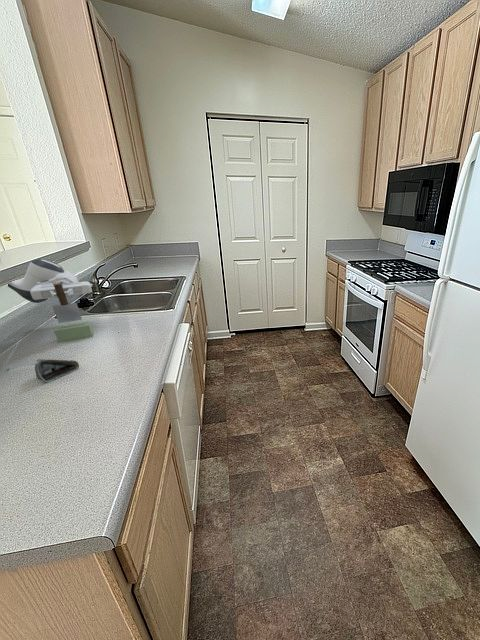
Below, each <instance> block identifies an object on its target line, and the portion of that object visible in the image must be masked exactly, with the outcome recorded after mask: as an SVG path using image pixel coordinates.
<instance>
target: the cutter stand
mask: <svg viewBox="0 0 480 640" xmlns="http://www.w3.org/2000/svg"><path fill="white" fill-rule="evenodd" d="M53 332H54V335H55V337H56V340H57V343H64V342H70V341H76V340H82V339H88V338H93V337H94V330H93V328H92V324H91V322H90V321H83V322H78V323H72V324H63V325H58V326H55V327H54V330H53Z"/></svg>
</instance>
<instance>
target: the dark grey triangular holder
mask: <svg viewBox="0 0 480 640" xmlns="http://www.w3.org/2000/svg"><path fill="white" fill-rule="evenodd" d="M79 368H80V363H79V362H78V361H77V360H73V359H71V360H66V359H50V358H49V359H44V358H42V359H41V358H39V359H36V363H34V371H35V377H36V378H37V379H40V380H41V381H43V382H44V383H49V382H53V381H54V380H57V379H59V378H62V377H64V376H66V375H67V374H70V373H73V372H75V371H77V370H78V369H79Z"/></svg>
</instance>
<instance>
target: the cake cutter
mask: <svg viewBox="0 0 480 640" xmlns="http://www.w3.org/2000/svg"><path fill="white" fill-rule="evenodd" d="M54 288H55V291H56V293H57V296H58V298H57V299H58V302H59V304H58V305H52V309H53V311H54V314H55V317H56V319H57V322H58V324H63V323H70V322H76V321H77V322H78V321H82V320H83V318H82V314H81V312H80V309H79V306H78V303H77V302H71V303H69V301H68V298H66V296H65V294H64V289H63V286H62V284H61V283H58V284H54Z"/></svg>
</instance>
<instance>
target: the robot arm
mask: <svg viewBox="0 0 480 640" xmlns="http://www.w3.org/2000/svg"><path fill="white" fill-rule="evenodd" d="M0 263H1V264H2V259H1V258H0ZM17 279H18V280H15V281H12V282H11V283H9V284H8V286H7V287H8V288H9V289H11V290H12V291H14V292H15V293H17V295H19V296H20V297H21V298H23V299H24V300H26V301H27V302H31V303H35V304H39V303H44V302H46V301H48V300H49V299H58V296H57V293H56V291H55V288H54V284H58V283H61V284H62V286H63V289H64V294H65V296H66V298H67V299H70V298H73V297H74V296H77V295H85V294H91V293H93V289H92V287H93V283H90V282H89V281H79V279H78V277H77V276H76V275H75V274H74V273H73V272H71V271H69V270H65V269H64V268H63V267H62V266H61V265H59V264H58V263H56V262H53V261H51V260H48V259H45V258H37V259H32V260H31V261H30V262H29V265H28V267H27V269H26V272H25V274H24V276H23V279H22V280H20V279H19V278H17Z"/></svg>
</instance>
